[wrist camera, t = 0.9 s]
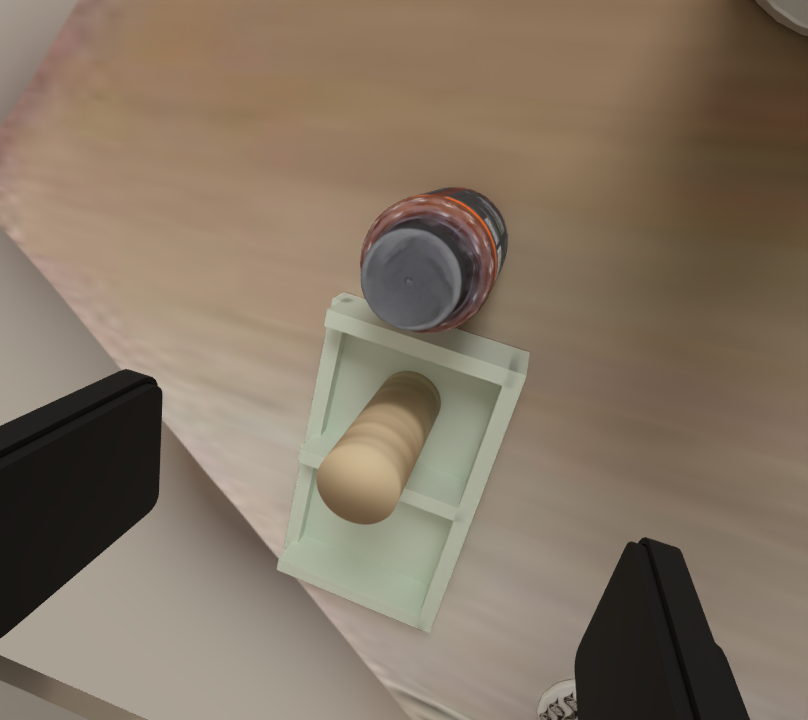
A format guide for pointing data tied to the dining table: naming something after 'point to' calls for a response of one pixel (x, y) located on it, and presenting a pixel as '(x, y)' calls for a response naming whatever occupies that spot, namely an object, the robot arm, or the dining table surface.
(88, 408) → the robot arm
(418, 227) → the supplement bottle
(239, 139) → the dining table surface
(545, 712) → the decorative candle
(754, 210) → the dining table surface
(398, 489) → the beige rounded cylinder
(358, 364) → the rack
